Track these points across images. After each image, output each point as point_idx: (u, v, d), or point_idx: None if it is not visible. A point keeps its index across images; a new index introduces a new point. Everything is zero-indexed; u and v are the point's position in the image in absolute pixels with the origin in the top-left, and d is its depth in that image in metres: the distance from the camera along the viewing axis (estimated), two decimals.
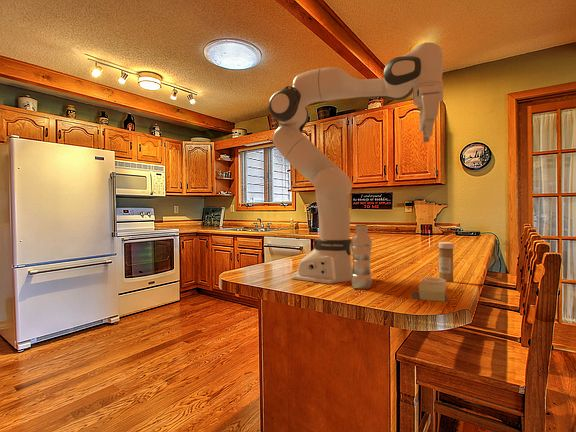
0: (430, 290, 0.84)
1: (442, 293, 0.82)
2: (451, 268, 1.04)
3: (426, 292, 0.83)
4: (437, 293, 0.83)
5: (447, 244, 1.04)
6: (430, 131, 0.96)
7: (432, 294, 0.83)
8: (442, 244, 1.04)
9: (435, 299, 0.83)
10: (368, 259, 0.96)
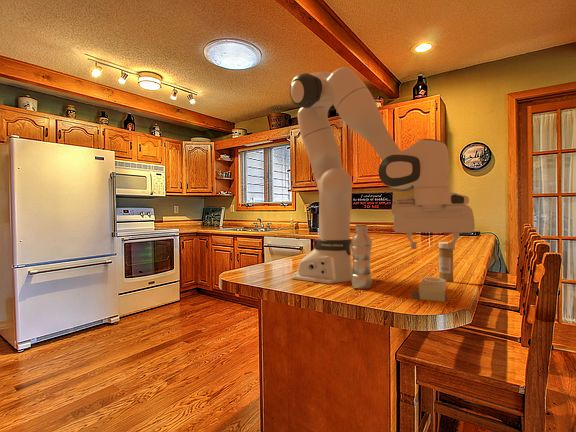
0: (430, 290, 0.84)
1: (442, 293, 0.82)
2: (451, 268, 1.04)
3: (426, 292, 0.83)
4: (437, 293, 0.83)
5: (447, 244, 1.04)
6: None
7: (432, 294, 0.83)
8: (442, 244, 1.04)
9: (435, 299, 0.83)
10: (368, 259, 0.96)
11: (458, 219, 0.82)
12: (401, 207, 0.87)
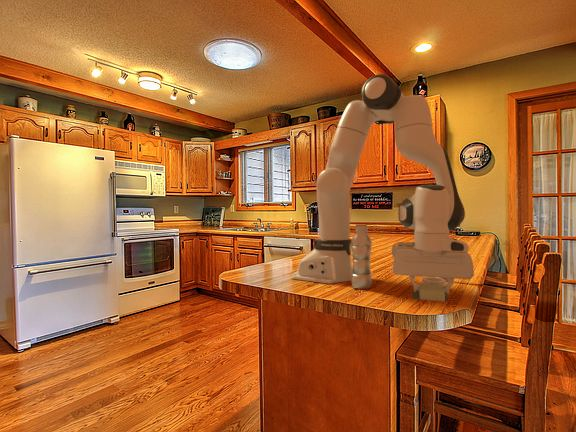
0: (430, 290, 0.84)
1: (442, 293, 0.82)
2: None
3: (426, 292, 0.83)
4: (437, 293, 0.83)
5: None
6: None
7: (432, 294, 0.83)
8: None
9: (435, 299, 0.83)
10: (368, 259, 0.96)
11: (457, 265, 0.83)
12: (401, 250, 0.87)
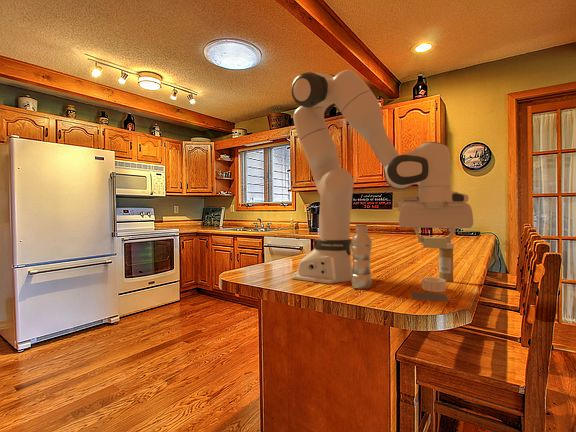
0: (433, 239, 0.92)
1: (444, 241, 0.90)
2: (451, 268, 1.04)
3: (429, 241, 0.91)
4: (440, 241, 0.90)
5: (447, 244, 1.04)
6: None
7: (435, 242, 0.91)
8: None
9: (438, 246, 0.90)
10: (368, 259, 0.96)
11: (458, 215, 0.90)
12: (406, 204, 0.95)
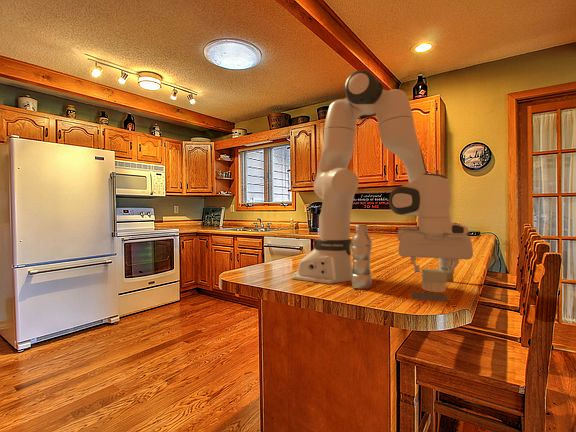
0: (433, 273, 0.92)
1: (444, 275, 0.90)
2: None
3: (429, 275, 0.91)
4: (439, 275, 0.91)
5: None
6: None
7: (435, 276, 0.91)
8: None
9: (437, 281, 0.91)
10: (368, 259, 0.96)
11: (458, 246, 0.90)
12: (406, 234, 0.95)
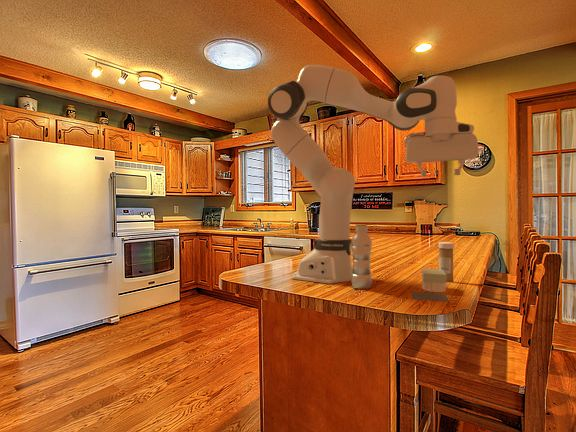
0: (433, 273, 0.92)
1: (444, 275, 0.90)
2: (451, 268, 1.04)
3: (429, 275, 0.91)
4: (439, 275, 0.91)
5: (447, 244, 1.04)
6: None
7: (435, 276, 0.91)
8: (442, 244, 1.04)
9: (437, 281, 0.91)
10: (368, 259, 0.96)
11: (464, 146, 0.93)
12: (413, 139, 0.97)
